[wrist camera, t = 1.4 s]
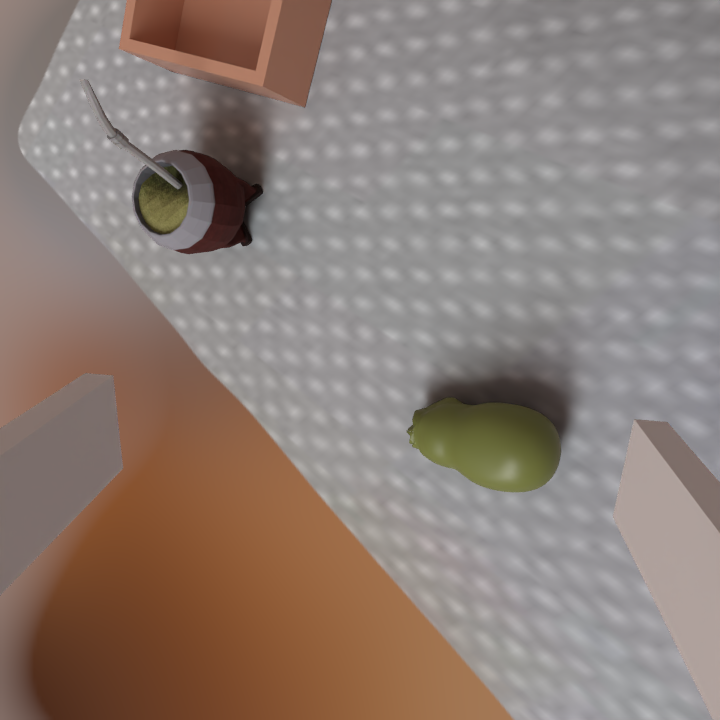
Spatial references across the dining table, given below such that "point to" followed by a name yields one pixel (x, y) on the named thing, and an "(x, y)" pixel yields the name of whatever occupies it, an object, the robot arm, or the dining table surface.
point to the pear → (489, 443)
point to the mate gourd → (184, 195)
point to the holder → (231, 41)
